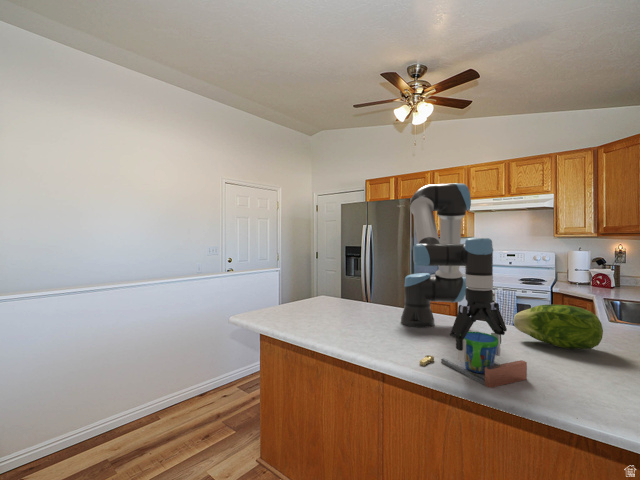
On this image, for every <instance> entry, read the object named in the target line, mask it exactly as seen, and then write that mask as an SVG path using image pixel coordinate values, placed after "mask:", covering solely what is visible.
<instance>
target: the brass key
mask: <svg viewBox="0 0 640 480" xmlns="http://www.w3.org/2000/svg"><path fill="white" fill-rule="evenodd" d="M429 362H430V363H434V362H435V356H433V355H431V354H429V355H425V356H424V358H422V359H420V360H419V365H420V366H423V367H426V364H427V365H428V364H430V363H429Z"/></svg>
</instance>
